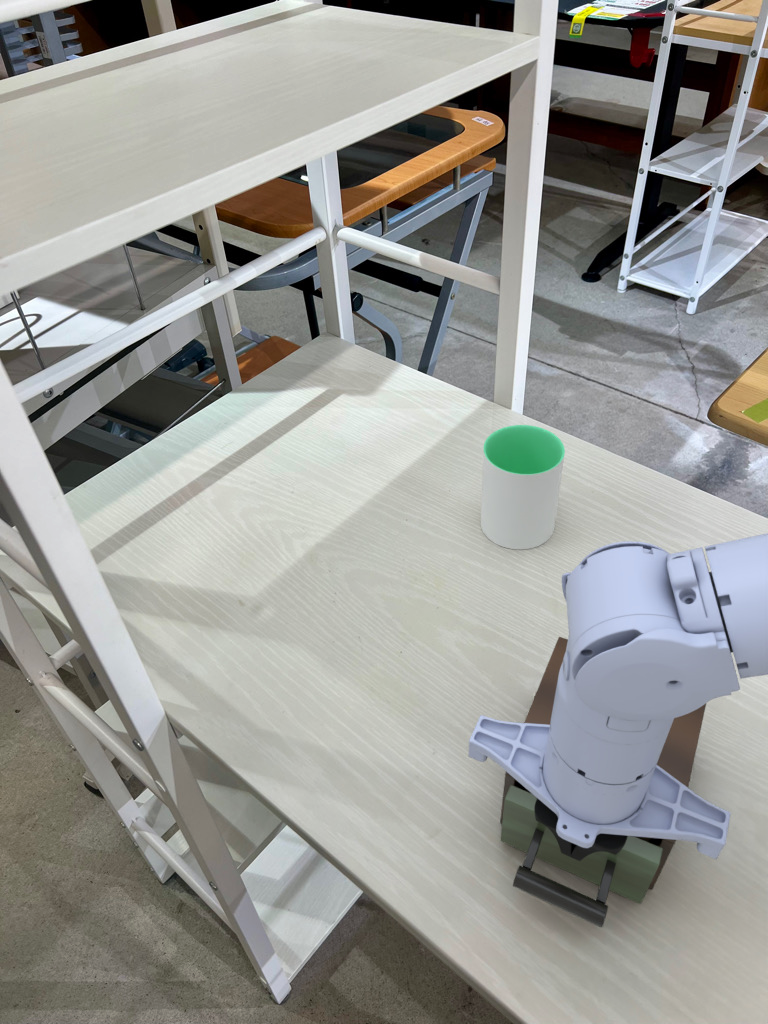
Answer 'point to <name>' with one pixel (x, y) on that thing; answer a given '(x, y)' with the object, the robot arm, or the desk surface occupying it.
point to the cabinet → (672, 758)
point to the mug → (521, 486)
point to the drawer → (575, 863)
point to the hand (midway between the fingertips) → (574, 843)
